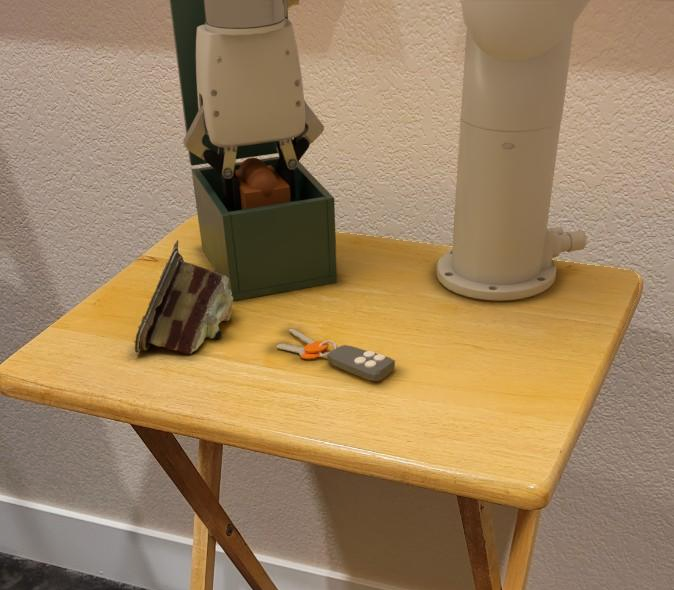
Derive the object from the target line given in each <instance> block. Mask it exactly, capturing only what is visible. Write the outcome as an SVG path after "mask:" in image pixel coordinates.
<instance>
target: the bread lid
mask: <svg viewBox="0 0 674 590" xmlns="http://www.w3.org/2000/svg"><path fill="white" fill-rule="evenodd" d="M169 6H170V7H169V8H170V14H171V15H170V16H171V22H172V23H171V24H172V31H173V39H174V40H173V41H174V47H175V55H176V63H177V64H176V65H177V71H178V79H179V88H180V95H181V103H182V112H183V118H184V119H183V120H184V127H185V135H186V134H187V132H188V130H189V128H190V126H191V125H192V123H193V121H194V119H195V117H196V115H197V113H198V111H199V109H198V95H197V78H196V34H197V27H198V26H200V25H205V18H204V8H203V0H169ZM285 19H288V20H289V10H288V11H287V17H285ZM293 139H294V138H292V139H291V141H292V140H293ZM202 143H204V144H205V145H206V146H208V147H210V148H212V149H213V150H214V151H215V152H216V153H218V146H216V145H214V144H212V143H211V141H210V138H209V135H206V134H205V135H204V137H203V139H202ZM187 153H188V159H189V160H188V161H189V164H190V166H193V167H194V166H200V165H207V164H208V163H207V162H206V161H205V160H203V159H201V158H199V157H198V156H196V155H195V154H193V153H192V152H190V151H188V150H187ZM276 154H277V155H278V151H277V148H276V145H275V142H267V143H260V144H252V145H244V146H238V147H237V154H236V160H241V159H248V158H257V157H262V156H268V155H276Z"/></svg>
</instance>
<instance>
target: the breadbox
mask: <svg viewBox="0 0 674 590" xmlns="http://www.w3.org/2000/svg"><path fill="white" fill-rule="evenodd" d="M279 158H280V157H279V156H273V157H266V158H259V159H260V160H261V161H263V162H264V163H265V165H266V166H269V165H271V166H272V167H273V168H274V169H275V165H277V162H278V159H279ZM242 163H243V161H238V162H235V168H234V170H239V168H240V165H241V164H242ZM275 170H276V169H275ZM294 177H295V198H292V199H291V201H292V202H288V203H282V204H276V205H269V206H263V207H257V208H250V209H244V210H237V211H231V210H230V208H226V206H225V204H224V198H223V188H222V179H221V174H220V173H219V172H218V171H216V170H215V169H214V168H213V167H212V166H210V165H209V166H204V167H203V166H202V167H197V168H191V178H192V185H193V191H194V198H195V199H194V200H195V206H196V207H195V208H196V213H197V214H196V215H197V221H198V227H199V236H200V242H201V248H202V251H203V253H204V254H205V256H206V258H207V259H208V261H209V263H210V265H211V266H212V268H213V270H214V272H216V273H219V274H222V275H225V276H226V277H228V279H229V281H228V289H229V290H230V291H231V293H232V295H231V296H232V297H233V302H236V301H241V300H246V299H251V298H257V297H262V296H263V297H264V296H268V295H275V294H280V293H286V292H292V291H297V290H302V289H307V288H313V287H318V286H320V287H321V286H325V285H329V284H335V283H336V284H337V283H338V276H337V275H338V267H337V239H336V238H337V237H336V236H337V235H336V210H335V209H336V208H335V207H336V206H335V204H336V203H335V197H334V196H333V195H332V194H331V193H330V192H329V191H328V190H327V189H326V188H325V186H323V185H322V184H321V183H320V181H319V180H318V179H317V178H316V177H315V176H314V175H313V174H312V173H311V172H310V171H309V170H308V168H306V167H305V166H304V165H303V164H302V162H300V160H299V161H298V166H297V168H296V169H294Z"/></svg>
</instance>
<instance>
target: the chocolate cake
mask: <svg viewBox="0 0 674 590" xmlns="http://www.w3.org/2000/svg"><path fill="white" fill-rule="evenodd" d="M228 281H229V279H228V277H226V276H225V275H222V274H219V273H216V271H215V270H214V271H213V270H211V269H208V268H205V267H203V266H199V265H197V264H193V263H191V262H186V261H185V260H184V258H183V256H182V254H180V252H179V240H178V239H177V240H176V242H175V243H174V245H173V247H172V250H171V253H170V255H169V258H168V259H167V262H166V263H165V266H164V268H163V270H162V273H161V275H160V277H159V280H158V282H157V285H156V288H155V290H154V293H153V295H152V296H151V297H150V298H151V299H150V301H149V303H148V307H147V309H146V312H145V313H144V314H145V315H143V316H142V318H141V321H140V324H139V326H138V327H137V328H138V329H137V331H136V334H135V340H134V352H135V353H139V352H141V351H148V350H149V349H150V346H151V344H152V345H154V346H156V347H162V348H164V349H167V350H174V351H176V352H181V353H183V354H187V355H191V354H192V353H193V352H195V351H197V350H198V349H199V347H201V345H202V344H203V343H204V342H205V339H206V338H208V339H220V338H222V336H223V331H222V330H221V329H220V327H219V324H221V322H223V321H224V322H228V321H230V320H231V315H232V314H233V304H234V303H233V302H234V301H233V297H232V296H231V295H232V293H231V291H230V290H229V289H228Z"/></svg>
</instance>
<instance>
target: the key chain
mask: <svg viewBox="0 0 674 590" xmlns="http://www.w3.org/2000/svg"><path fill="white" fill-rule="evenodd" d="M288 331H289V332H290V333H291V334H293V336H295V337H296V338H298V339H300V340H301V341H302V342H304V343H306V345H304V346H302V347H301V346H297V344H294V345H292V344H287V343H285V342H283V343H279V344H278V343H277V345H276V349H280V350H283V351H288V352H293V353H296V354H299V358H302V359H303V360H304V359H305V360H315V359H317V358H326V360H328V361H329V363H330V364H331V365H332V366H334V367H336V368H339V369H341V370H343V371H346V372H348V373H350V374H353V375H355V376H358V377H360V378H363V379H365V380H367V381H373V382H379V381H382V380H383V379H385V378H387V377H388V376H389V375H390V374H392V372H393V371H394V369H395V367H396V360H395V359H393V358H391V357H390V356H389V357H388V356H385V354H382V353H376V351H375V352H374V350H365V349H362V348H358V347H356V346H353V345H347V344H342V345H340V346H338V345H337V343H336V341H334V340H332V339H326V340H317V341H316V340H315V341H314V340H312V339H311V338H309V337H307V336H306V335H304V334H303V333H301V332H300V331H297V330H296V329H294V328H289V329H288ZM330 344H331V345H333V349H332V350H330V351H326V352H323V351H325V350H327V349H328V348H329V345H330Z"/></svg>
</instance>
